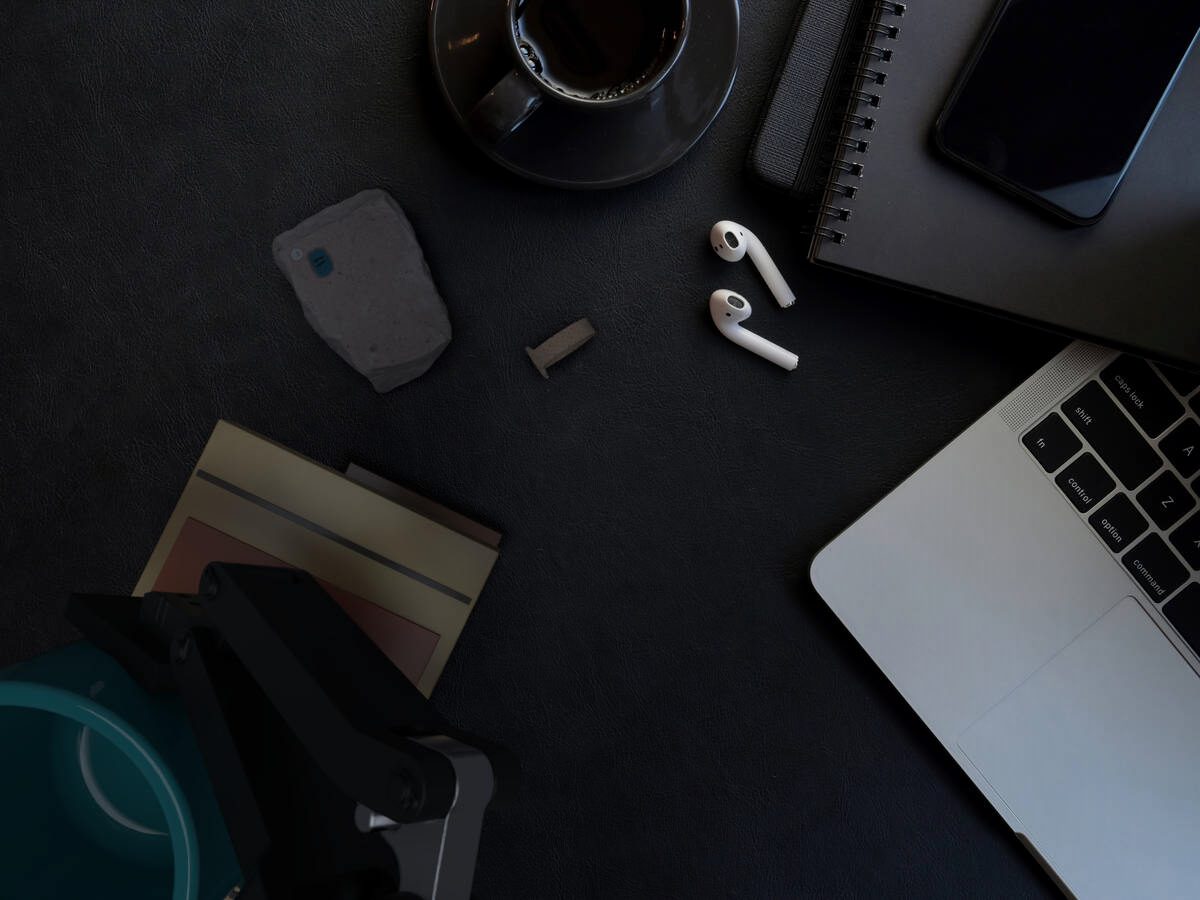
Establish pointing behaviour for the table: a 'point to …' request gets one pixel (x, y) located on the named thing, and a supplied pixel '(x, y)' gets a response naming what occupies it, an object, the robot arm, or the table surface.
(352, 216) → the decorative stone
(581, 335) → the flanged peg
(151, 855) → the cup
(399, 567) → the board
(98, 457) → the table surface
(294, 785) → the robot arm
